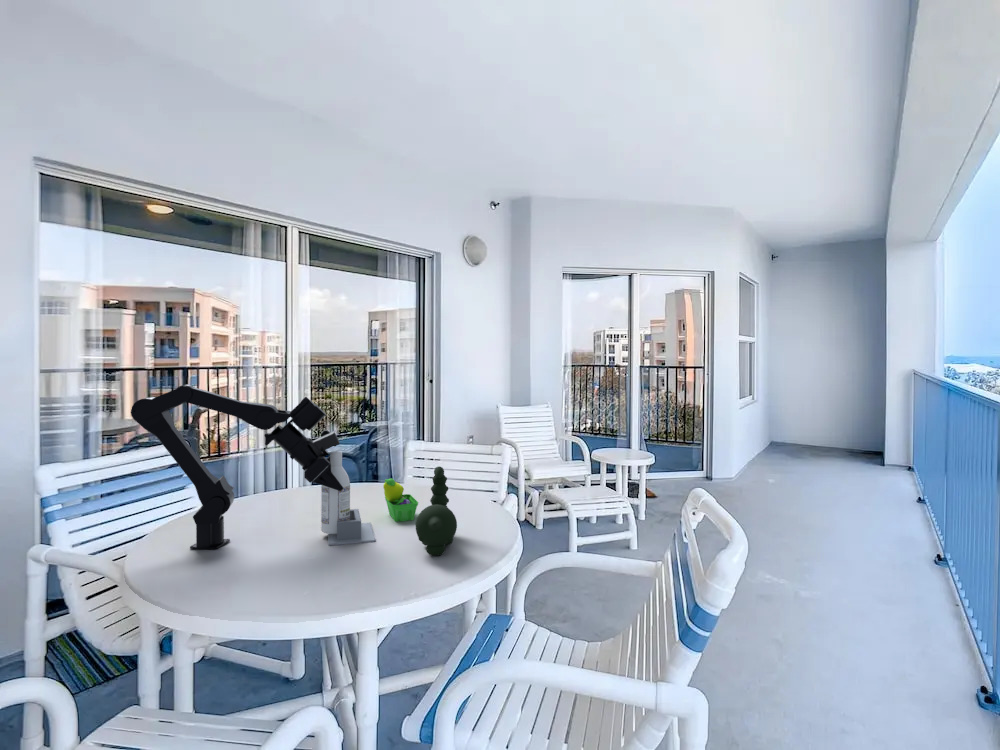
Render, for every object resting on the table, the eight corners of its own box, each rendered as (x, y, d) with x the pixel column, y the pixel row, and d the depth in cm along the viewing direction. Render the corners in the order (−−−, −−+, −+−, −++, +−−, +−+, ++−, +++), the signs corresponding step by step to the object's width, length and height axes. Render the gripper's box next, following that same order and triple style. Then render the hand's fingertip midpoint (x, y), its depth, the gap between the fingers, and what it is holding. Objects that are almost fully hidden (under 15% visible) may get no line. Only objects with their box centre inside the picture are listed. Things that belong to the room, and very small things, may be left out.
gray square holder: (328, 545, 137) (328, 525, 137) (328, 527, 153) (328, 509, 153) (375, 541, 140) (375, 521, 140) (370, 524, 156) (370, 506, 156)
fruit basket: (419, 520, 159) (419, 480, 159) (387, 524, 156) (387, 482, 156) (410, 511, 170) (410, 473, 170) (379, 513, 167) (379, 475, 166)
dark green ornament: (421, 538, 148) (412, 563, 123) (421, 464, 150) (413, 474, 125) (457, 538, 149) (456, 562, 124) (458, 464, 150) (456, 474, 125)
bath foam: (351, 526, 149) (352, 449, 149) (347, 534, 142) (347, 453, 142) (324, 527, 149) (324, 449, 148) (318, 535, 142) (319, 453, 141)
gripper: (319, 424, 135) (367, 469, 138) (320, 417, 153) (362, 457, 156) (283, 459, 133) (333, 504, 136) (288, 447, 151) (332, 488, 154)
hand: (341, 486), depth 146 cm, fingers closed on bath foam, 7 cm apart
